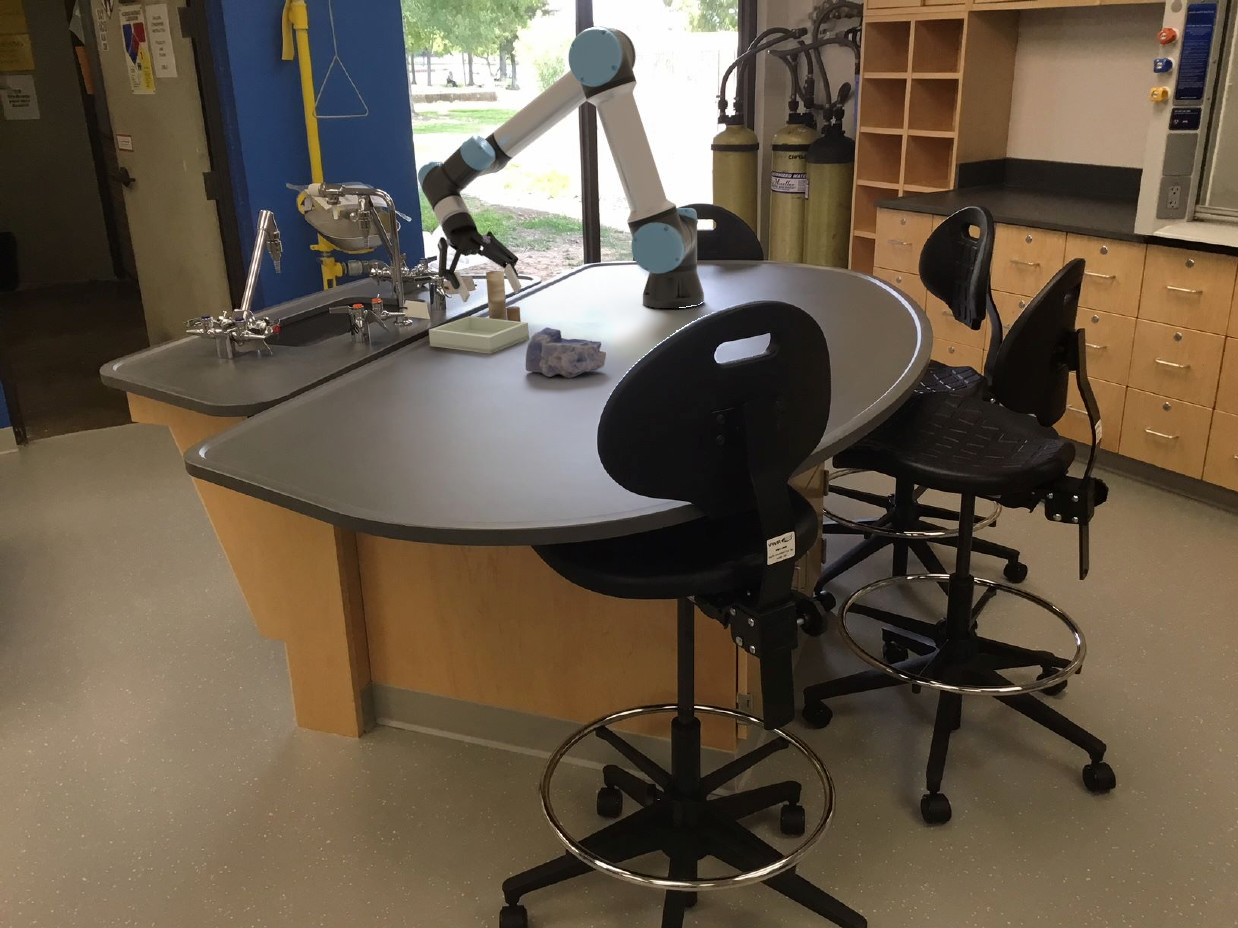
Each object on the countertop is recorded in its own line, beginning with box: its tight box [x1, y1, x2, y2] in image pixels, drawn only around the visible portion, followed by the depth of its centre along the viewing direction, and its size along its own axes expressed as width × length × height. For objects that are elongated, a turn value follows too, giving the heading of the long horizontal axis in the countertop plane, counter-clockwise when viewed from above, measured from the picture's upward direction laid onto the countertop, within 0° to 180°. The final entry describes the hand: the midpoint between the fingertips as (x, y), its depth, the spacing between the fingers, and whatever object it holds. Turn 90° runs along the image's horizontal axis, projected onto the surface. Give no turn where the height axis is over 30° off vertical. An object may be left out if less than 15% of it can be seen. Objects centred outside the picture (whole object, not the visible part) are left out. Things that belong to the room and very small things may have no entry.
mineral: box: [525, 327, 607, 379], centre depth 193 cm, size 14×10×10 cm
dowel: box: [485, 270, 507, 320], centre depth 231 cm, size 4×4×12 cm
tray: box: [428, 315, 530, 355], centre depth 218 cm, size 16×14×4 cm
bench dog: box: [506, 305, 522, 322], centre depth 227 cm, size 3×3×5 cm
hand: (493, 294), depth 231 cm, fingers open, 13 cm apart
